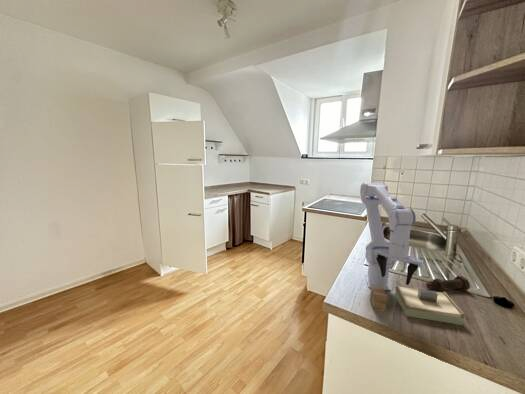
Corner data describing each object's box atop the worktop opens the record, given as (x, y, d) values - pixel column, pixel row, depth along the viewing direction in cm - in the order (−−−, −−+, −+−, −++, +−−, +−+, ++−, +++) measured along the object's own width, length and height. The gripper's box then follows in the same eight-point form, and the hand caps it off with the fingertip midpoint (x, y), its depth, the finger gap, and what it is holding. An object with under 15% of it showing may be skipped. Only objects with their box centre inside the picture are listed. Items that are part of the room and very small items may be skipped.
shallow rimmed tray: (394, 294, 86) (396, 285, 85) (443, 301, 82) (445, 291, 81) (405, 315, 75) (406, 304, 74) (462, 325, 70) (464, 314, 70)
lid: (398, 288, 85) (399, 279, 85) (442, 295, 81) (443, 285, 81) (409, 309, 74) (410, 298, 73) (460, 317, 70) (462, 306, 69)
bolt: (425, 293, 90) (460, 290, 91) (435, 294, 85) (472, 291, 86) (421, 278, 92) (455, 275, 93) (430, 278, 87) (466, 275, 88)
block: (369, 300, 83) (371, 285, 81) (381, 302, 81) (383, 287, 80) (372, 309, 78) (374, 294, 77) (385, 311, 77) (387, 295, 76)
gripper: (372, 240, 79) (369, 276, 81) (421, 252, 69) (417, 292, 71) (379, 236, 84) (376, 269, 86) (426, 246, 74) (421, 284, 76)
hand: (395, 279), depth 79 cm, fingers open, 7 cm apart
